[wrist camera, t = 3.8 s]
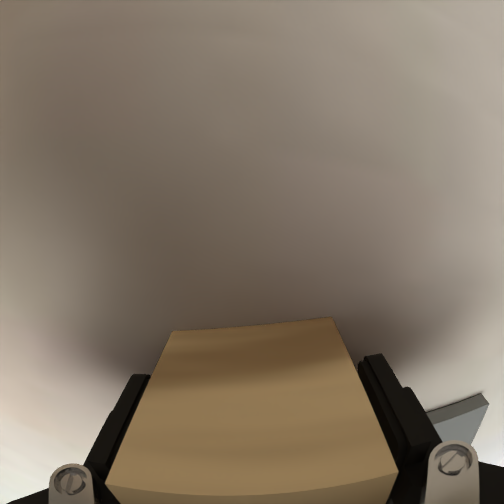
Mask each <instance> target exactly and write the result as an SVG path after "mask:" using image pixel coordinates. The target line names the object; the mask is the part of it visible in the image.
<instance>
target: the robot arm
mask: <svg viewBox="0 0 504 504" xmlns="http://www.w3.org/2000/svg"><path fill="white" fill-rule="evenodd" d="M358 376H359V378H360V380H361V383H362V385H363V387H364V390H365V392H366V394H367V397H368V399H369V401H370V404H371V406H372V408H373V411H374V413H375V415H376V418H377V420H378V422H379V425H380V427H381V430H382V432H383V434H384V437H385V439H386V442H387V444H388V447H389V449H390V452H391V454H392V457H393V459H394V462H395V464H396V467H397V469H398V474H397V477H396V480H395V482H394V485H393V487H392V490H391V492H390V494H389V497H388V499H387V501H386V504H504V467H500V466H496V465H492V464H487V463H483V462H479V461H478V456H477V452H476V451H475V449H474V448H473V447H472V446H471V445H469V444H468V443H466V442H463V441H459V440H450V441H445V442H442V440H441V438H440V436H439V435H438V433H437V431H436V429H435V428H434V426H433V424H432V423H431V421H430V419H429V417H428V416H427V414H426V412H425V411H424V409H423V407H422V406H421V404H420V402H419V401H418V399H417V397H416V396H415V394H414V392H413V391H412V389H411V388H409V387H404V388H402V386H401V385H400V383H399V381H398V379H397V378H396V376H395V374H394V373H393V371H392V369H391V368H390V366H389V364H388V363H387V361H386V359H385V358H384V356H383V355H382V354H375V355H370V356H365V357H364V360H363V361H361V362H359V363H358ZM150 378H151V376H150V375H148V374H133V375H132V376H131V377H130V379H129V381H128V383H127V385H126V387H125V389H124V390H123V392H122V394H121V396H120V398H119V400H118V402H117V404H116V406H115V407H114V409H113V411H111V413H110V414H109V416H108V418H107V419H106V421H105V423H104V425H103V427H102V429H101V431H100V433H99V435H98V437H97V439H96V441H95V443H94V445H93V447H92V449H91V451H90V453H89V455H88V457H87V459H86V461H85V463H84V465H79V464H66V465H63V466H61V467H59V468H58V469H57V470H55V471H54V472H53V474H52V476H51V477H50V482H49V488H47V489H45V490H42V491H39V492H37V493H34V494H31V495H29V496H26V497H23V498H20V499H17V500H14V501H11V502H9V503H7V504H121V503H120V502H119V501H118V500H117V499H116V497H115V496H114V495H113V493H112V492H111V491H110V490H109V488H108V487H107V486H106V484H105V482H106V479H107V477H108V475H109V472H110V470H111V467H112V465H113V463H114V460H115V458H116V455H117V453H118V451H119V448H120V446H121V444H122V441H123V439H124V437H125V434H126V432H127V430H128V427H129V425H130V423H131V421H132V418H133V416H134V414H135V411H136V409H137V407H138V405H139V402H140V400H141V398H142V396H143V393H144V391H145V389H146V387H147V385H148V382H149V380H150Z"/></svg>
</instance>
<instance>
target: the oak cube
mask: <svg viewBox="0 0 504 504" xmlns="http://www.w3.org/2000/svg"><path fill="white" fill-rule="evenodd" d="M397 474H398V469H397V467H396V464H395V462H394V459H393V457H392V454H391V452H390V449H389V447H388V444H387V442H386V439H385V437H384V434H383V432H382V430H381V427H380V425H379V422H378V420H377V418H376V415H375V413H374V411H373V408H372V406H371V404H370V401H369V399H368V397H367V394H366V392H365V390H364V387H363V385H362V383H361V380H360V378H359V376H358V374H357V371H356V369H355V367H354V365H353V362H352V360H351V358H350V356H349V354H348V351H347V349H346V347H345V345H344V342H343V340H342V338H341V336H340V334H339V332H338V329H337V327H336V325H335V323H334V321H333V319H332V317H325V318H317V319H309V320H301V321H292V322H283V323H273V324H263V325H253V326H241V327H229V328H216V329H201V330H185V331H172V333H171V335H170V337H169V339H168V341H167V343H166V346H165V348H164V350H163V352H162V354H161V356H160V358H159V361H158V363H157V365H156V367H155V369H154V371H153V374H152V376H151V378H150V380H149V382H148V385H147V387H146V389H145V391H144V393H143V396H142V398H141V400H140V402H139V405H138V407H137V409H136V411H135V414H134V416H133V418H132V421H131V423H130V425H129V427H128V430H127V432H126V434H125V437H124V439H123V441H122V444H121V446H120V448H119V451H118V453H117V455H116V458H115V460H114V463H113V465H112V467H111V470H110V472H109V475H108V477H107V479H106V482H105V484H106V486H107V487H108V488H109V490H110V491H111V492H112V493H113V495H114V496H115V497H116V499H117V500H118V501H119V502H120V503H121V504H386V501H387V499H388V497H389V494H390V492H391V490H392V487H393V485H394V482H395V480H396V477H397Z"/></svg>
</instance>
